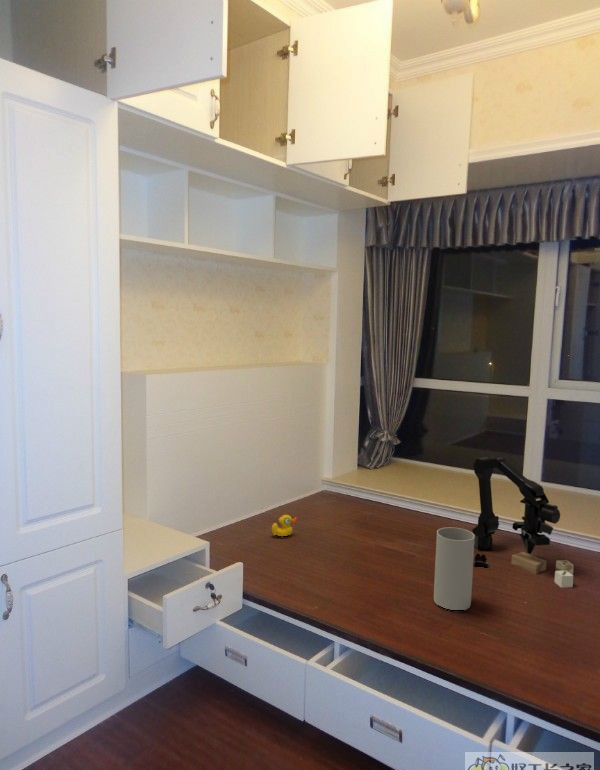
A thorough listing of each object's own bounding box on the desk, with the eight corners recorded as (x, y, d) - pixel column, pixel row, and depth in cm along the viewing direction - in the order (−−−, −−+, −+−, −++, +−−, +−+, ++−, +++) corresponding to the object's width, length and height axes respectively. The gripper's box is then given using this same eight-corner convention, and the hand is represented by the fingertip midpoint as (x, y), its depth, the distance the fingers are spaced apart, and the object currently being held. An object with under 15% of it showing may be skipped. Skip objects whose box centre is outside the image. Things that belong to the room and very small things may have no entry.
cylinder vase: (464, 616, 190) (468, 543, 187) (428, 605, 196) (431, 535, 194) (474, 600, 200) (478, 532, 198) (440, 591, 207) (443, 524, 204)
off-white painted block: (561, 587, 212) (562, 575, 212) (554, 582, 217) (555, 570, 216) (572, 587, 213) (573, 575, 212) (565, 581, 217) (566, 570, 217)
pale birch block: (562, 576, 222) (563, 565, 221) (555, 571, 226) (556, 560, 226) (572, 576, 223) (573, 564, 222) (566, 571, 227) (566, 559, 226)
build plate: (496, 565, 232) (497, 554, 231) (496, 573, 225) (496, 561, 224) (464, 560, 236) (465, 549, 235) (463, 567, 229) (464, 556, 229)
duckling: (295, 533, 260) (295, 512, 259) (297, 538, 255) (298, 516, 254) (270, 535, 258) (270, 513, 257) (272, 539, 253) (272, 517, 252)
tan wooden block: (535, 574, 223) (536, 565, 223) (511, 564, 232) (511, 555, 232) (546, 570, 227) (546, 561, 227) (521, 560, 236) (522, 551, 236)
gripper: (564, 523, 219) (561, 562, 221) (538, 507, 238) (535, 544, 240) (537, 524, 218) (534, 563, 220) (512, 508, 236) (510, 544, 238)
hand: (529, 553), depth 229 cm, fingers closed
